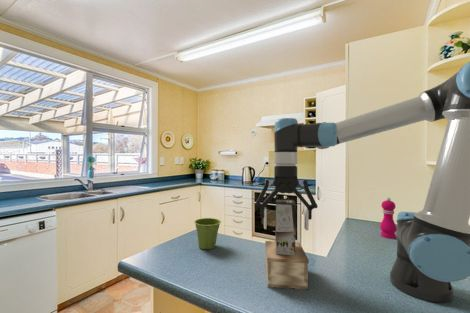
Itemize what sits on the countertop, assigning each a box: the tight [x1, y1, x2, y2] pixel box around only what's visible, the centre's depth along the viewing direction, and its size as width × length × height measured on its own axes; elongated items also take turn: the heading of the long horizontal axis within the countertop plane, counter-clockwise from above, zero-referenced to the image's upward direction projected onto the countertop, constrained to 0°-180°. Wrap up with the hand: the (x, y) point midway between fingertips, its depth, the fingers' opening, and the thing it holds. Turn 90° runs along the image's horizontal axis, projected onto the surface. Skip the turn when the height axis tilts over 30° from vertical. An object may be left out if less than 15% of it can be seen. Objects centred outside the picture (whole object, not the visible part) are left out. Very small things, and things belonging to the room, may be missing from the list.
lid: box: [264, 240, 310, 265], centre depth 77 cm, size 12×14×1 cm
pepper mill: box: [379, 197, 397, 239], centre depth 117 cm, size 7×7×20 cm
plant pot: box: [193, 217, 222, 250], centre depth 101 cm, size 12×12×11 cm
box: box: [265, 254, 309, 290], centre depth 77 cm, size 12×14×8 cm
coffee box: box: [274, 199, 297, 256], centre depth 77 cm, size 9×6×16 cm
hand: (285, 228), depth 76 cm, fingers open, 13 cm apart
